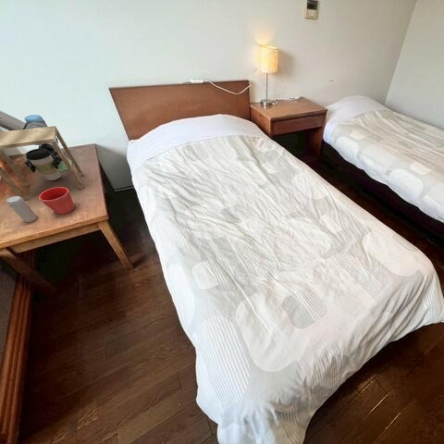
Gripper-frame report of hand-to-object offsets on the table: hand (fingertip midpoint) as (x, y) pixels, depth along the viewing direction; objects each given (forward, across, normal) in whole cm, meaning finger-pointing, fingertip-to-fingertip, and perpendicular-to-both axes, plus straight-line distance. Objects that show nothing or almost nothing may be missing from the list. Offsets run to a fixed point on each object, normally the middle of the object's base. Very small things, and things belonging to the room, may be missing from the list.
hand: (44, 168), depth 129 cm
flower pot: (+26, -5, -10) cm, 29 cm away
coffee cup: (-5, 0, -8) cm, 9 cm away
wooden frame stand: (+3, 0, -10) cm, 10 cm away
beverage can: (+28, +7, -10) cm, 31 cm away
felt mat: (-20, 0, -10) cm, 23 cm away
